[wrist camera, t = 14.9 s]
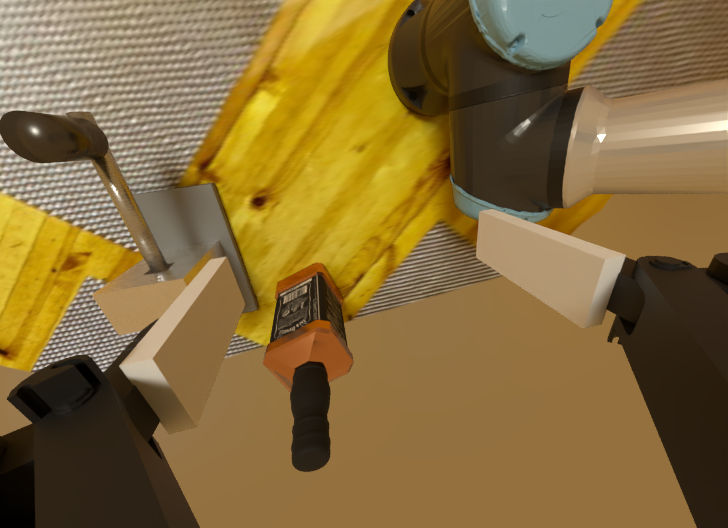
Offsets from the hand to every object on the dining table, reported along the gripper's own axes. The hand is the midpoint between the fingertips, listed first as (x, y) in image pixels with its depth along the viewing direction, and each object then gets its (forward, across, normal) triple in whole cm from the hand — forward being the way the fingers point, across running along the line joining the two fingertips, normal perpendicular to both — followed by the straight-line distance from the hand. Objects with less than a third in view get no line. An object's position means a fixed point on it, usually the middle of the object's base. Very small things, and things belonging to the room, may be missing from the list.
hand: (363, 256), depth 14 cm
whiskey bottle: (+35, -7, -21) cm, 41 cm away
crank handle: (+25, -24, +1) cm, 35 cm away
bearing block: (+33, -24, -10) cm, 42 cm away
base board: (+35, -24, -10) cm, 44 cm away
